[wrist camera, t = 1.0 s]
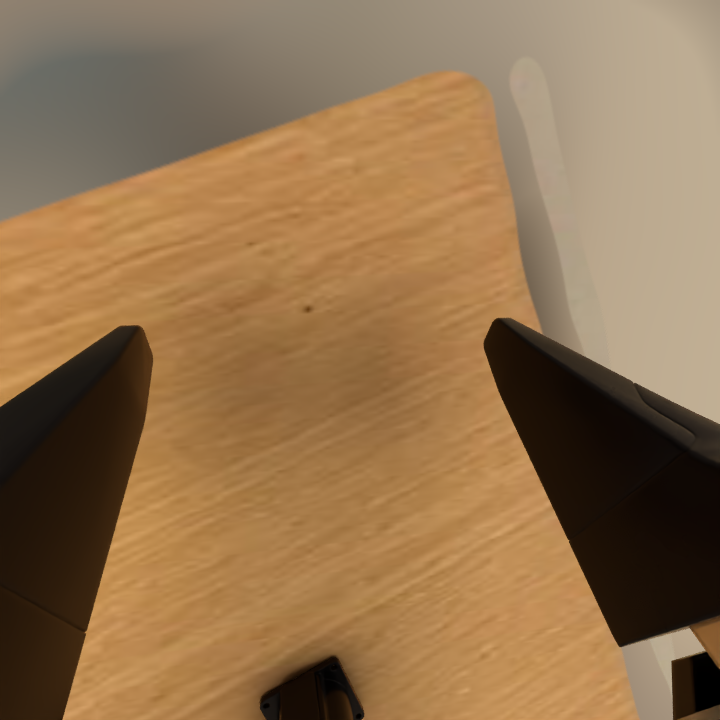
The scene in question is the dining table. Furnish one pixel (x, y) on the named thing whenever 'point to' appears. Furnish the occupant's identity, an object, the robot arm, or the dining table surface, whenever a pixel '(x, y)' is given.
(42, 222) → the dining table surface
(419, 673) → the dining table surface
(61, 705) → the robot arm
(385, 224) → the dining table surface
